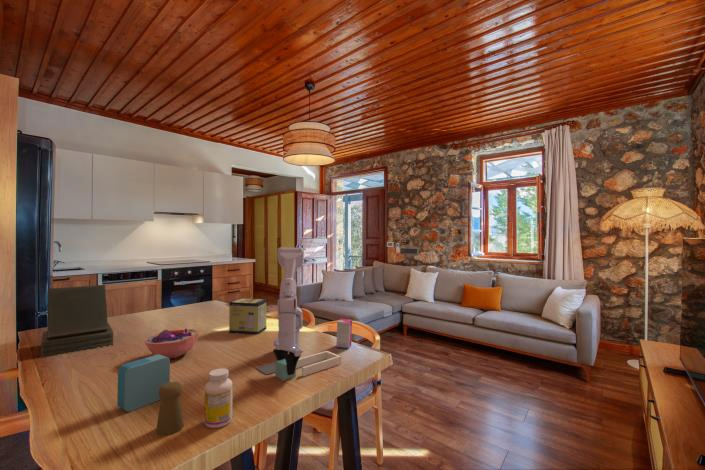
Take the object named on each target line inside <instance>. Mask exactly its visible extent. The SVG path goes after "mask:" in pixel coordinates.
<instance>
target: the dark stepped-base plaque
mask: <svg viewBox="0 0 705 470" xmlns="http://www.w3.org/2000/svg"><path fill="white" fill-rule="evenodd" d="M106 290H107V289H106V284H100V285H99V284H98V285H97V284H96V285H85V286H84V285H83V286H72V287H71V286H70V287H56V288H54V287H53V288H49V289H48V297H47V298H48V299H47V300H48V303H47V304H48V305H47V329H46V331H45V330H44V331H43V332H42V335H41V336H42V337H41V340H40V358H41V357H42V358H46V357H51V356H53V357H54V356H58V354H59V355H65V354H70V353H69V352H71V353H75V351H77V352H82V351H81V350H83V351H87V349H89V350H92V348H94V349H98V348H97V347H100V348H104V347H103V346H106V347H110V346H109V345H112V346H114V330H113V329H112V326H111V324H110V323H109V322H108V310H107V305H108V304H107V293H106V292H107V291H106ZM64 353H65V354H64Z"/></svg>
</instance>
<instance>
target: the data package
mask: <svg viewBox="0 0 705 470" xmlns="http://www.w3.org/2000/svg"><path fill="white" fill-rule="evenodd" d="M170 360H171V359H169V358H167V357H165V356H162V355H152V356H147V357H144V358H141V359H137V360H134V361H130V362H127V363H124V364H121V366H119V368H118V370H117V394H116V395H117V398H116V399H117V402H116V403H117V404H116V405H117V407H118V408H120V409H121V410H124V411H125V412H126V413H131V412H133V411H136V410H139V409H141V408H142V407H143V408H144V407H146V406H149V405H151V404H153V403H156V402H159V401H161V399H160V398H159V395H158V392H159V389H160V387H161V386H162V385H164V384H166V383H169V382H171V380H170V379H171V378H170V377H171V376H170V375H171V361H170Z"/></svg>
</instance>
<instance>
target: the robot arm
mask: <svg viewBox="0 0 705 470" xmlns="http://www.w3.org/2000/svg"><path fill="white" fill-rule="evenodd" d="M277 249H278V250H277V262H278V264H279V265H280V266H279V267H282V268H283V277H284V279H283V280H281V282H280V286H279V287H280V290H279V298H278V299H277V304H276V305H277V307H276V310H277V320H278V326H277V327H278V333H277V339H274V340H273V346H274V347H275V348H274V349H272V352H273V354H274V355H275V358H276V361H278V360H282V359H285V360H286V364H287V373H288V375H292V374H294V372H295V368H296V365H297V362H298V360H299V359H300V358H301V356H302V352H304V349H302V348H300V330H302V329H303V325H304V324H303V323H304V322H303V321H304V320H303V317H304V315H303V310H302V309H301V308H300V307H299V306H298V299H297V286H298V285H297V271H298V268H300V267H302V266H303V264H304V248H303V247H302V246H301V247H278V248H277ZM296 369H297V368H296Z"/></svg>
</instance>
